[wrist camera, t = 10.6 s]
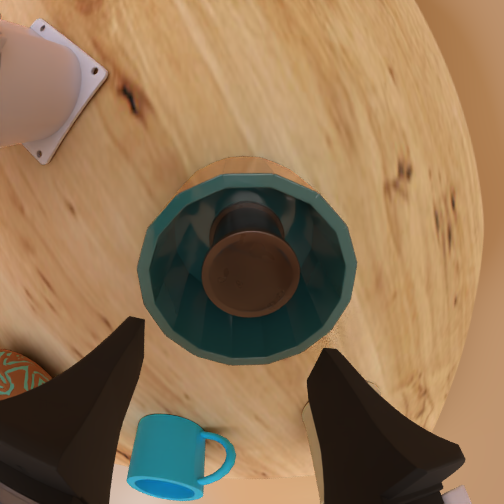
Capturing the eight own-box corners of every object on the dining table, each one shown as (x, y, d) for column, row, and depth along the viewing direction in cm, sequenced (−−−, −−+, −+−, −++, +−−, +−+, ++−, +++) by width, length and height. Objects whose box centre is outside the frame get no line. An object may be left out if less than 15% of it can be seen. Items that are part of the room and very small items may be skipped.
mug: (158, 448, 31) (151, 499, 24) (125, 415, 28) (111, 473, 21) (245, 440, 31) (248, 497, 23) (222, 405, 27) (222, 474, 20)
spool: (197, 217, 19) (183, 253, 14) (268, 189, 18) (281, 215, 13) (227, 279, 21) (225, 329, 16) (293, 254, 20) (311, 299, 15)
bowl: (139, 235, 19) (101, 287, 13) (243, 122, 17) (248, 120, 11) (244, 320, 23) (248, 389, 16) (346, 232, 20) (391, 280, 14)
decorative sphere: (-20, 300, 21) (-93, 388, 7) (90, 356, 24) (36, 488, 10) (1, 380, 26) (-40, 457, 13) (91, 425, 29) (64, 518, 16)
